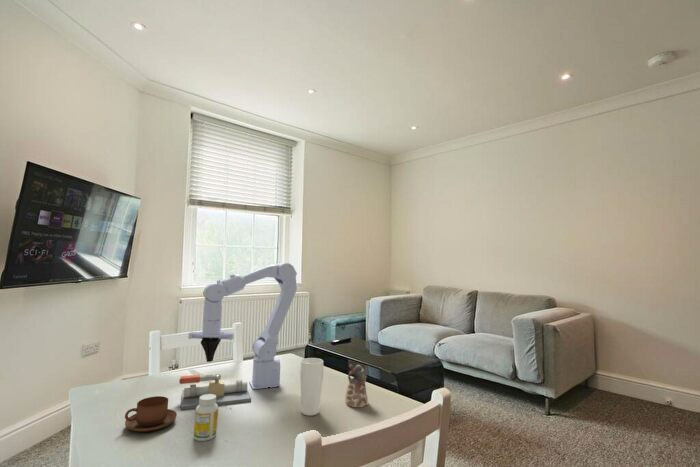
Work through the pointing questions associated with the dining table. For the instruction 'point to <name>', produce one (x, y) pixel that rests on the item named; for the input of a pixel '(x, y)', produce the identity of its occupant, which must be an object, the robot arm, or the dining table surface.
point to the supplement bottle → (206, 418)
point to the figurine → (356, 387)
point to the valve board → (218, 400)
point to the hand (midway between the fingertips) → (209, 361)
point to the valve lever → (198, 378)
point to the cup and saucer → (150, 415)
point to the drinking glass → (311, 385)
